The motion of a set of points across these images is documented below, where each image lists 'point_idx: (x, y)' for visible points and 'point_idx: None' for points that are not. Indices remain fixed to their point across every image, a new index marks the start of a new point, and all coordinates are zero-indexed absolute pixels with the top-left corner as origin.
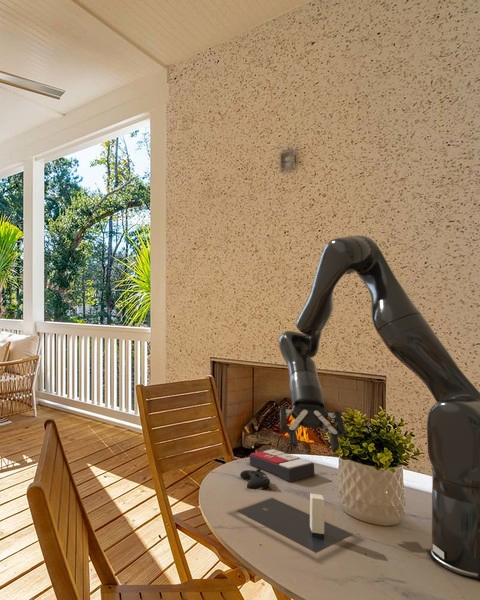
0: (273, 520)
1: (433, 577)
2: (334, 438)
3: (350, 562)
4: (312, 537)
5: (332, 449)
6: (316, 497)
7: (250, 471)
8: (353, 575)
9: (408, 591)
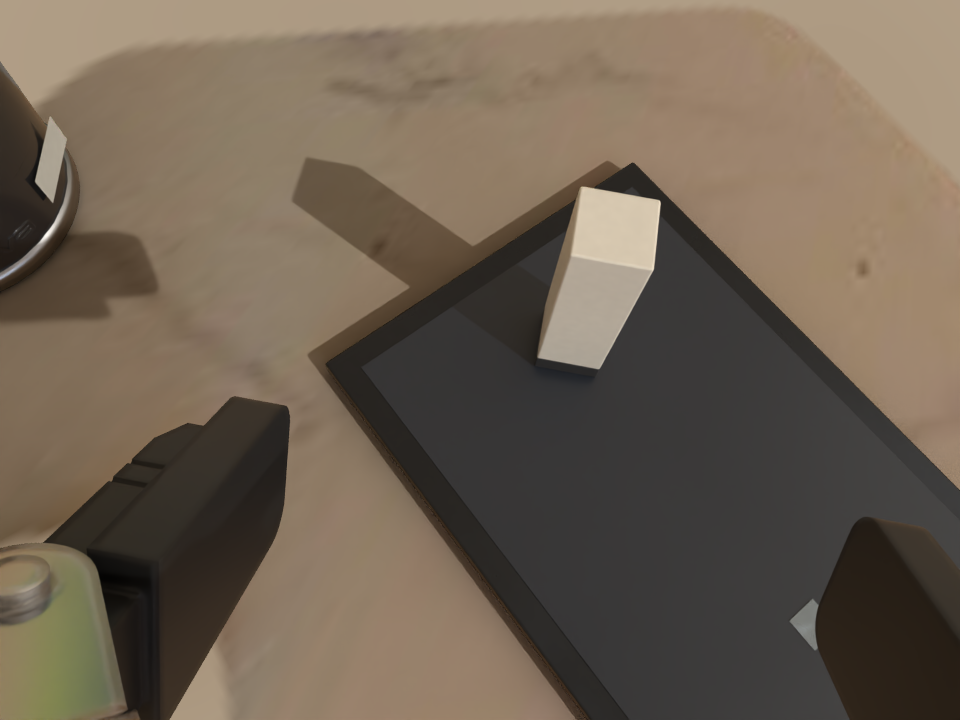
0: (780, 471)
1: (185, 118)
2: (151, 496)
3: (486, 179)
4: None
5: (275, 491)
6: (627, 210)
7: None
8: (517, 102)
9: (356, 39)
